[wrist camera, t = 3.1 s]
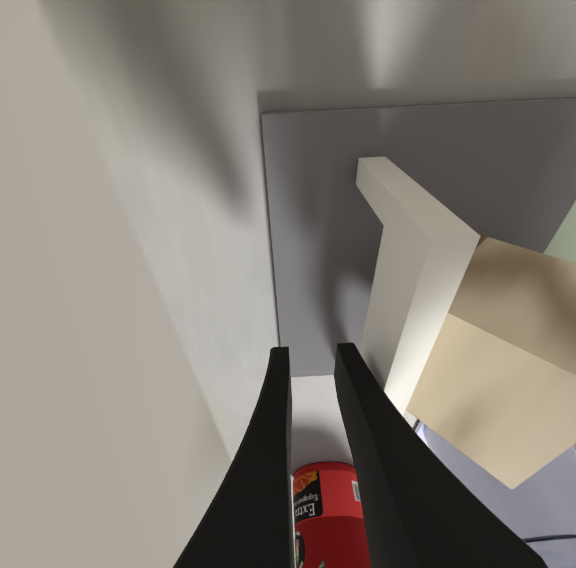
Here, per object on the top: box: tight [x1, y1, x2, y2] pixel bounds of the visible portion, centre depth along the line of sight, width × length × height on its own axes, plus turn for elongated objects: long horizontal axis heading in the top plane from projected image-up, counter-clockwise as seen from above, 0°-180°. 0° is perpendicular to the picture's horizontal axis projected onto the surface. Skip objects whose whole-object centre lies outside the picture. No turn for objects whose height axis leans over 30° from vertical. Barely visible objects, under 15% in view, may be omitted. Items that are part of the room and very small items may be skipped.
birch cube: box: [406, 234, 576, 490], centre depth 12 cm, size 6×6×6 cm
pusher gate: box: [356, 156, 481, 416], centre depth 12 cm, size 1×13×6 cm, turn 2°
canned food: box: [293, 462, 371, 568], centre depth 29 cm, size 8×8×11 cm
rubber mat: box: [261, 97, 576, 377], centre depth 15 cm, size 26×16×1 cm, turn 92°
